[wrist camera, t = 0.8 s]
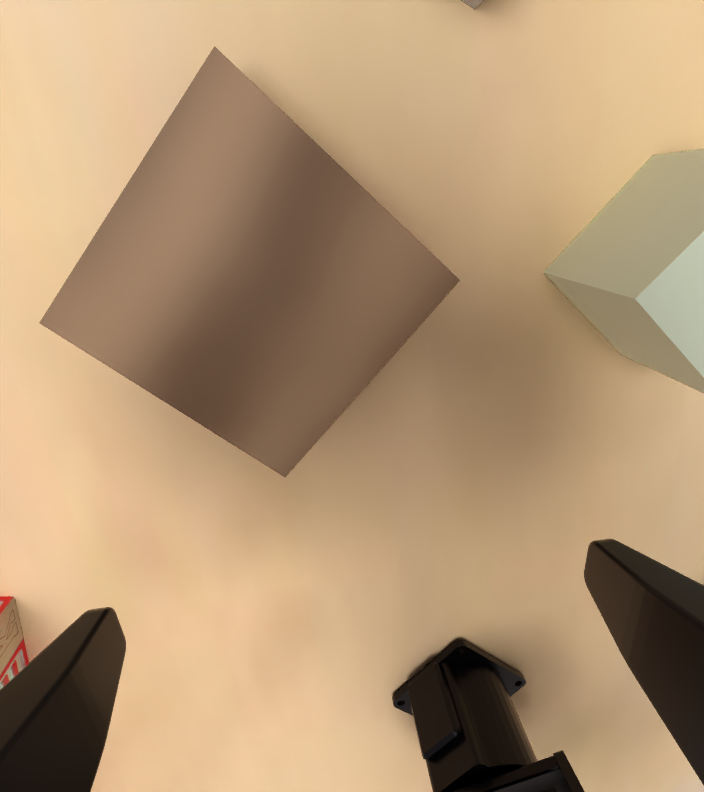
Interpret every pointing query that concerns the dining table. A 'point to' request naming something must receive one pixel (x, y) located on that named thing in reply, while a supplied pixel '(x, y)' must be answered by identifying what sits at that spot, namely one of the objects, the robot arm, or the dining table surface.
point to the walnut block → (247, 275)
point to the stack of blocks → (10, 641)
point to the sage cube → (646, 268)
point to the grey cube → (472, 3)
